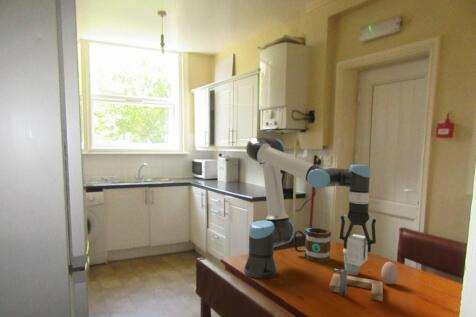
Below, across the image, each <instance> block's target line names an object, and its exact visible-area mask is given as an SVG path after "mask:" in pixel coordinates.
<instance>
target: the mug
mask: <svg viewBox="0 0 476 317" xmlns="http://www.w3.org/2000/svg"><path fill="white" fill-rule="evenodd" d="M297 233H299V234H301V235H302V237H304V238H305V239H304V240H305V242H304V246H305V248H304V249H298V247H297ZM331 234H332V232H331V230H329V229H327V228H321V227H308V228H305V233H303V231H301V230H295V234H294V237H293V242H294V245H293V247H294V249H295V252H298V253H302V252H303V253H304V258H305V259H306V260H307V261H311V262H315V263H327V262H329V261H331V247H332V246H331V245H332V244H331V236H332V235H331Z"/></svg>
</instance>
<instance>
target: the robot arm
mask: <svg viewBox="0 0 476 317" xmlns="http://www.w3.org/2000/svg"><path fill="white" fill-rule="evenodd" d="M245 147H246V150H245V151H246V154H247V155H248V157H249V158H250V159H251V160H253V161H256V162H258V163H259V166H260V167H261V168H262V171H263V179H264V188H265V196H266V197H265V198H266V206H267V207H266V208H267V213H268V214H267V216H266V217H265V220H257V221H254V222H252V223H250V225H249V228H248V229H249V230H248V256H247V259H246V262H245V265H244V275H246V276H248V277H250V278H252V279H253V278H255V279H263V280H264V279H271V278H273V277H274V278H275V277H276V276H277V274H278V273H277V272H278V267H277V264H276V261H275V258H274V254H275V253H274V249H275V248H276V247H279V246H283V245H286V244H288V243H290V242H291V241H292V240H294V234H295V231H296V230H295V225H294V224H293V223H292V221H291V220H290V217H289V215H288V214H287V213H286V209H285V208H286V207H285V200H284V191H283V182H282V174H281V171H283V172H285V173H287V174H290V175H291V176H294V177H296V178H298V179H301V180H303V181H305V182H307V183H308V184H309V185H310V186H311V187H312V188H315V189H323V188H331V187H347V188H349V194H348V201H350V202H349V203H348V213H347V214H341V215H340V221H341V225H340V232H339V239H340V240H342V241H343V249H347V243H348V237H350V236H351V235H350V234H351V231H352V229H353V227H354V226H361V227H362V230H363V234H364V236H365V237H366V240H367V243H366V248H365V260H366V262H367V261H368V253H371V250H372V247H371V246H372V245H373V244H376V243H377V242H376V241H377V240H376V237H377V236H376V222H377V218H376V217H371V216H370V215H369V207H370V206H369V202H370V201H369V200H370V198H369V197H370V178H371V177H370V174H371V173H370V166H368V165H365V164H351V165H350V167H349V168H337V167H325V168H323V167H321V166H318V165H315V164H313V163H310V162H308V161H306V160H303V159H300V158H298V157H296V156H294V155H291V154H290V153H289V154H288V153H286V147H285V145H284V143H283V142H282V141H281V139H279V138H276V137H266V136H265V137H264V136H256V137H253V138H251V139H250V140H249V141H248V142H247V144H246V146H245ZM347 220H349V221H350V224H349V227H348V229H347V231H346V234H345V236H344V233H345V228H346V227H345V226H346V221H347ZM368 221H369V223H370V224H371V236H372V237H370V234H369V232H368V228H367V224H366V223H367V222H368ZM346 258H347V252H346Z"/></svg>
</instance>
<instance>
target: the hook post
mask: <svg viewBox="0 0 476 317" xmlns="http://www.w3.org/2000/svg"><path fill="white" fill-rule="evenodd" d="M332 271H333V273H337V274H340V293H339V296H341V297H345V298H346V297H347V285H346V282H347V276H348V274H347V270H345V268H344V269H343V268H342V269H338V268H337V269H336V268H333V269H332Z"/></svg>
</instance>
